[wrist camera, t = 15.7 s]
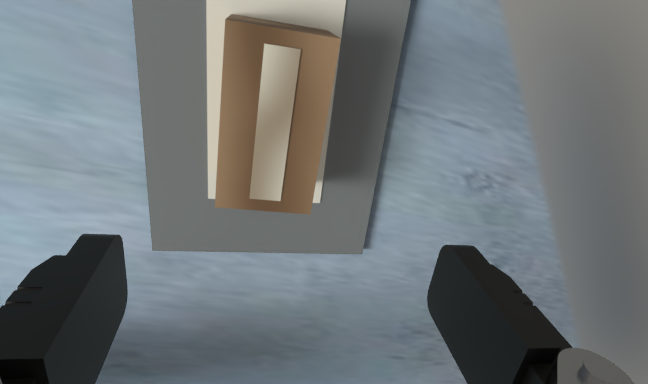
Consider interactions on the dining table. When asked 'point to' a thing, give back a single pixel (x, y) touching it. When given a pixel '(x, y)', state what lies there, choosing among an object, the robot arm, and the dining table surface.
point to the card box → (272, 113)
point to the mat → (204, 115)
